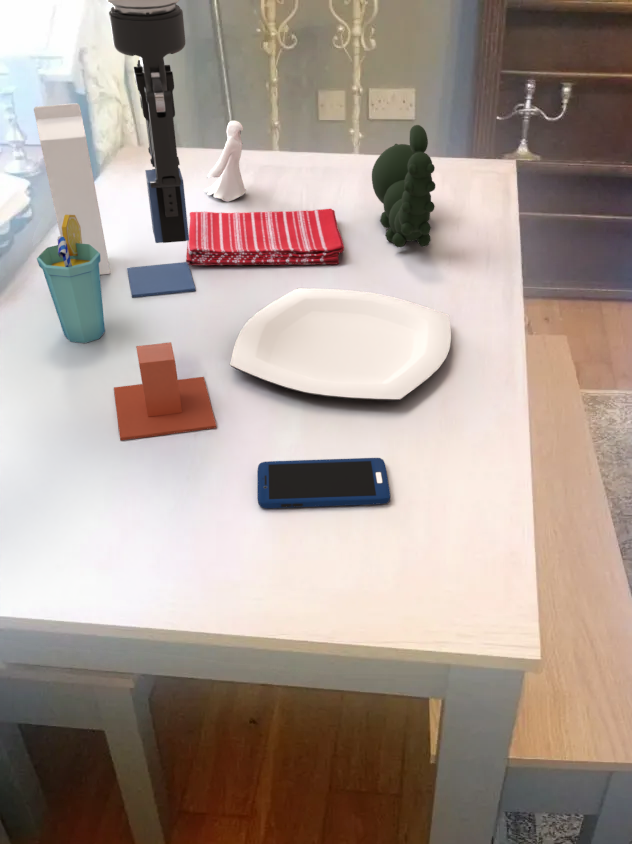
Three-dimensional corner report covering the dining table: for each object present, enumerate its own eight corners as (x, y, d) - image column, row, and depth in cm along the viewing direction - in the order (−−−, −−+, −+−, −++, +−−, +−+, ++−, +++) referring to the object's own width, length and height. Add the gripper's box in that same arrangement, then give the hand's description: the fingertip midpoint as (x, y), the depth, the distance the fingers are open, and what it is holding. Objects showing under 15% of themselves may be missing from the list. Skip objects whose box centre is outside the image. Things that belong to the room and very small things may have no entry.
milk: (110, 274, 132) (82, 110, 116) (68, 279, 131) (34, 114, 115) (106, 256, 136) (78, 96, 120) (65, 261, 135) (32, 99, 119)
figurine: (239, 206, 150) (234, 129, 142) (195, 200, 152) (187, 124, 143) (254, 189, 155) (250, 114, 147) (212, 184, 157) (205, 109, 148)
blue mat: (132, 297, 127) (131, 295, 126) (127, 270, 133) (126, 267, 133) (195, 291, 128) (195, 288, 128) (188, 264, 134) (187, 261, 134)
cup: (116, 360, 114) (94, 244, 104) (53, 366, 113) (25, 249, 103) (112, 309, 124) (92, 198, 114) (55, 314, 123) (29, 202, 112)
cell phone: (391, 504, 94) (391, 498, 93) (257, 509, 93) (257, 503, 92) (384, 462, 99) (384, 456, 98) (257, 466, 98) (257, 461, 98)
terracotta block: (147, 417, 105) (138, 363, 100) (144, 399, 107) (136, 345, 102) (182, 412, 105) (174, 359, 100) (178, 395, 108) (171, 341, 103)
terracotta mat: (120, 440, 102) (119, 437, 102) (114, 390, 109) (113, 387, 109) (216, 428, 104) (216, 425, 103) (204, 379, 111) (203, 376, 111)
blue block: (155, 243, 107) (147, 182, 102) (152, 229, 110) (145, 169, 105) (189, 240, 108) (183, 180, 103) (185, 227, 110) (179, 167, 105)
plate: (413, 428, 104) (414, 413, 103) (203, 384, 110) (202, 369, 109) (470, 322, 122) (472, 309, 120) (287, 290, 128) (286, 277, 127)
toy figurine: (443, 271, 137) (420, 194, 153) (458, 143, 122) (430, 72, 138) (382, 273, 136) (365, 195, 152) (390, 145, 122) (369, 73, 138)
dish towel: (345, 265, 134) (345, 248, 132) (185, 267, 133) (184, 250, 131) (336, 220, 146) (336, 203, 144) (190, 221, 145) (188, 204, 143)
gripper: (191, 24, 87) (212, 260, 103) (173, -15, 99) (195, 203, 115) (112, 27, 85) (146, 265, 102) (104, -12, 97) (135, 207, 114)
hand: (172, 232), depth 108 cm, fingers closed on blue block, 4 cm apart
